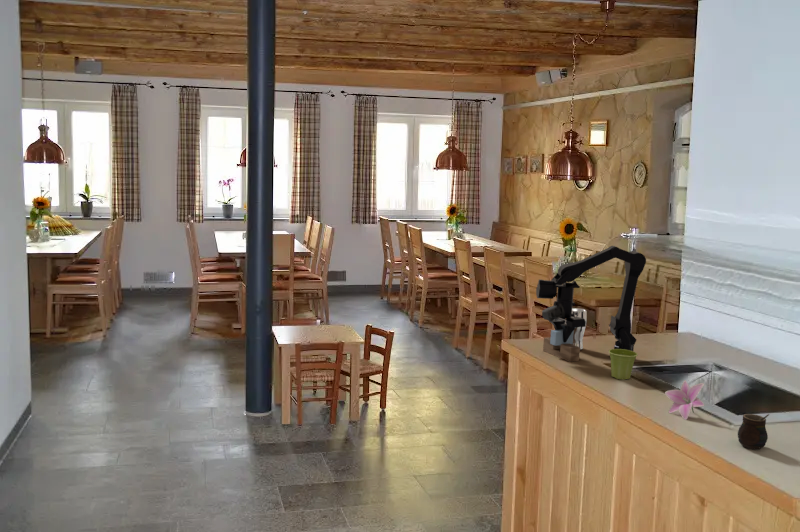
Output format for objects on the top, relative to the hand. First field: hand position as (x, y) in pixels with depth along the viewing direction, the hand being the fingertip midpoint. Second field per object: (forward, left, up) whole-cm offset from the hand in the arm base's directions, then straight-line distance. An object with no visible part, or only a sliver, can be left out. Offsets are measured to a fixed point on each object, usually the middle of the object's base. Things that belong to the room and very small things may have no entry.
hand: (561, 341), depth 296 cm
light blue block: (0, 0, -1) cm, 1 cm away
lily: (+7, +67, -6) cm, 67 cm away
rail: (0, 0, -6) cm, 6 cm away
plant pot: (-2, +30, -6) cm, 31 cm away
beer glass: (-13, -8, -6) cm, 16 cm away
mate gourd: (+10, +93, -6) cm, 94 cm away
